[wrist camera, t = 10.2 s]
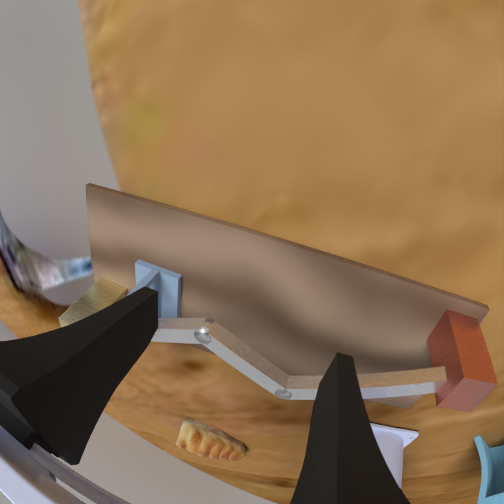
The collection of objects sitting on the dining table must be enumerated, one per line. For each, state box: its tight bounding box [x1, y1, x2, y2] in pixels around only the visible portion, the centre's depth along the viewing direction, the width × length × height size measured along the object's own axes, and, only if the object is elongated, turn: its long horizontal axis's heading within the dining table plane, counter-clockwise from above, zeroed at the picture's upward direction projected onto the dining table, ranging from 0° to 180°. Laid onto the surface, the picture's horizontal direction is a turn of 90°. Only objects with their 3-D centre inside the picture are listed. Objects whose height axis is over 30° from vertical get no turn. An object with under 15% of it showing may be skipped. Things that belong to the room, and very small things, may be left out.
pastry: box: [176, 418, 246, 461], centre depth 37 cm, size 9×7×4 cm
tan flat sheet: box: [86, 183, 489, 409], centre depth 24 cm, size 13×32×1 cm, turn 80°
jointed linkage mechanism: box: [59, 277, 498, 412], centre depth 21 cm, size 5×32×6 cm, turn 92°
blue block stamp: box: [127, 259, 182, 318], centre depth 22 cm, size 4×6×10 cm, turn 170°
